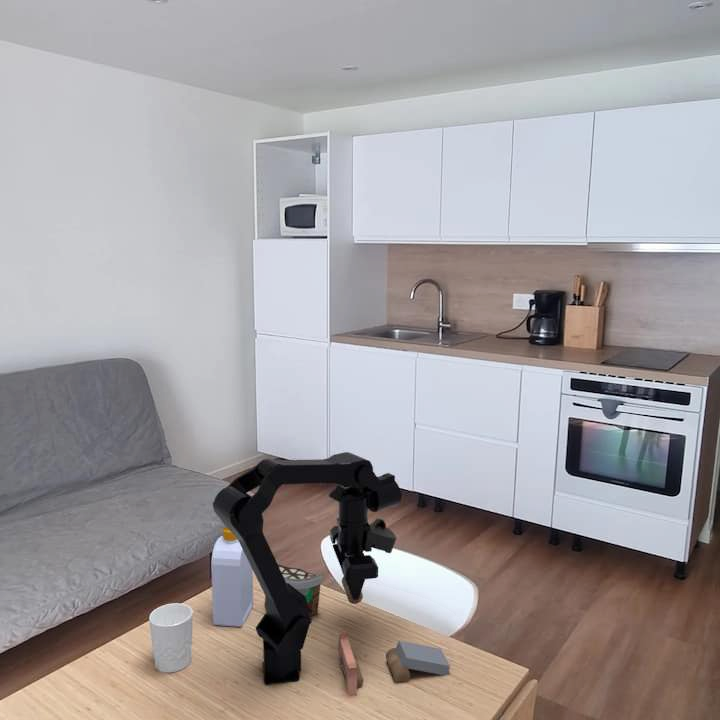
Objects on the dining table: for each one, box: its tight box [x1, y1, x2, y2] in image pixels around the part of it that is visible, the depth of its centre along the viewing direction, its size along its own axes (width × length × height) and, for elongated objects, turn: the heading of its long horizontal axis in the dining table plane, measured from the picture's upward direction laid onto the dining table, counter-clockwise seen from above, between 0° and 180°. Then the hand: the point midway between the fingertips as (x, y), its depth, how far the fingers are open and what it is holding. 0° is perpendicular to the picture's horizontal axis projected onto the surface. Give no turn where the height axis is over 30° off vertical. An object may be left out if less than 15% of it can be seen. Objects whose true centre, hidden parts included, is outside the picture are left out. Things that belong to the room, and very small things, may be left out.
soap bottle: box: [210, 526, 254, 628], centre depth 139 cm, size 9×7×23 cm
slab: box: [395, 640, 451, 676], centre depth 123 cm, size 9×6×2 cm, turn 102°
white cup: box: [148, 602, 194, 674], centre depth 124 cm, size 8×8×10 cm
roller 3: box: [385, 647, 411, 684], centre depth 122 cm, size 3×6×3 cm, turn 12°
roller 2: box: [341, 653, 364, 689], centre depth 121 cm, size 3×6×3 cm, turn 12°
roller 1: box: [341, 576, 364, 605], centre depth 131 cm, size 3×6×3 cm, turn 12°
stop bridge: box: [338, 633, 358, 697], centre depth 120 cm, size 2×10×6 cm, turn 12°
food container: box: [276, 560, 324, 618], centre depth 140 cm, size 12×6×10 cm, turn 62°
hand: (352, 590), depth 131 cm, fingers closed on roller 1, 6 cm apart
